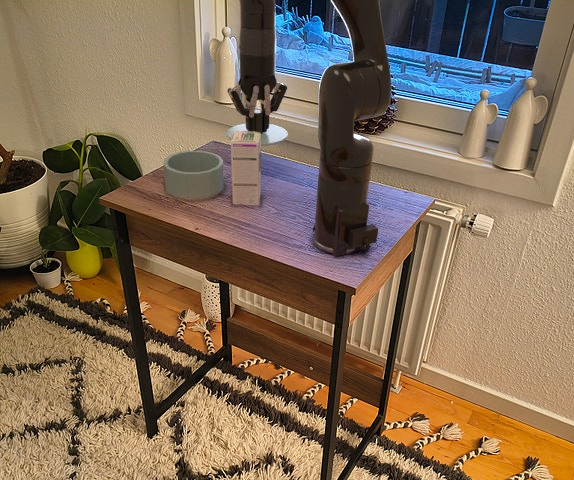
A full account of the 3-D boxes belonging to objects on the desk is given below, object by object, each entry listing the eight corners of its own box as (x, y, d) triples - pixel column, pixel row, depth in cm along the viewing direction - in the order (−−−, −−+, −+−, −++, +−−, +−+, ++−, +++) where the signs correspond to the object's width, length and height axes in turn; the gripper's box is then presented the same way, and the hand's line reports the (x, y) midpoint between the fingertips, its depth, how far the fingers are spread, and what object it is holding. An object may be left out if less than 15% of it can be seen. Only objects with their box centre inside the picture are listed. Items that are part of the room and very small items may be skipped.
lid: (298, 143, 128) (299, 117, 124) (241, 152, 122) (241, 125, 119) (271, 124, 137) (271, 99, 134) (217, 131, 132) (216, 106, 129)
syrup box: (259, 207, 122) (260, 141, 114) (231, 206, 122) (230, 140, 114) (261, 195, 127) (262, 131, 119) (234, 194, 127) (233, 129, 118)
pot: (232, 195, 126) (231, 168, 123) (176, 205, 122) (174, 177, 118) (211, 173, 136) (210, 147, 132) (158, 181, 131) (156, 155, 127)
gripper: (233, 56, 114) (235, 141, 124) (296, 51, 119) (293, 133, 129) (219, 48, 119) (222, 130, 129) (279, 43, 125) (278, 122, 135)
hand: (257, 131), depth 129 cm, fingers closed on lid, 2 cm apart
